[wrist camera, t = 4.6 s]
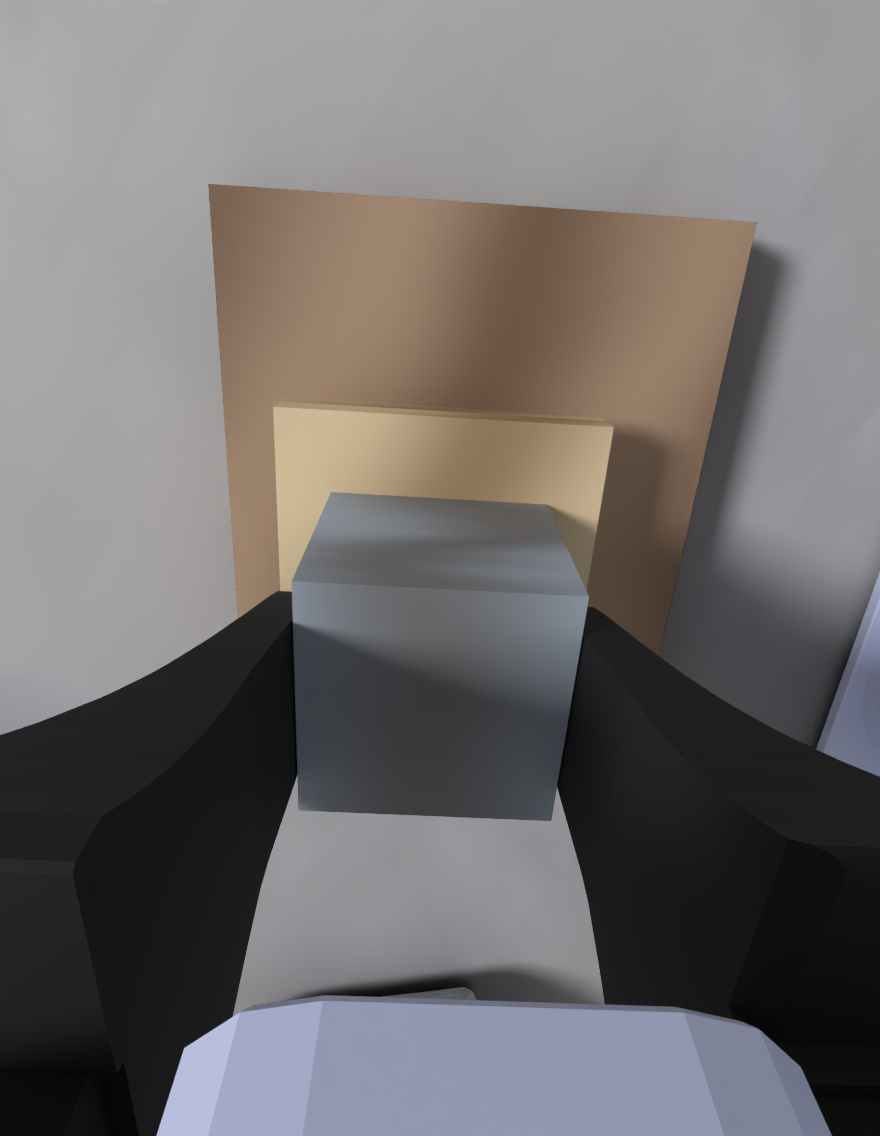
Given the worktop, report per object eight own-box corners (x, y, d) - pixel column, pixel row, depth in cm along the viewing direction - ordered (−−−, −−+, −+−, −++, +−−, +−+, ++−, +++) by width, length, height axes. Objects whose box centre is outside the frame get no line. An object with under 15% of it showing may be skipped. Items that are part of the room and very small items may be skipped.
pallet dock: (725, 225, 14) (757, 222, 13) (624, 710, 19) (638, 746, 18) (231, 191, 14) (208, 184, 12) (259, 693, 19) (245, 727, 17)
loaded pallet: (602, 416, 13) (685, 495, 9) (554, 719, 16) (598, 890, 12) (283, 397, 13) (207, 467, 8) (293, 707, 16) (240, 876, 11)
